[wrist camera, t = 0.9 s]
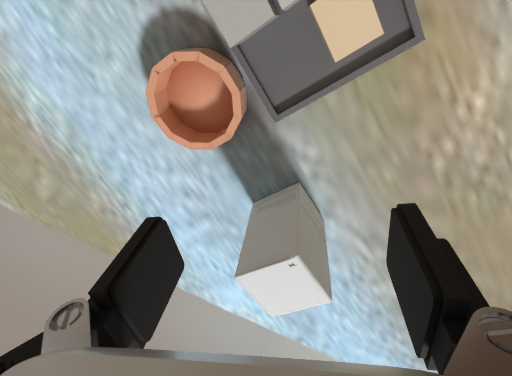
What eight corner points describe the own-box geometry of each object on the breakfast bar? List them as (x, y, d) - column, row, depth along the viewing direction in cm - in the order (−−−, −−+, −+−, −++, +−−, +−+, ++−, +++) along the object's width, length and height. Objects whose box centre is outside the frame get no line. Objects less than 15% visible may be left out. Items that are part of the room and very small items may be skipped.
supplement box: (251, 202, 37) (230, 276, 26) (300, 180, 34) (299, 254, 23) (278, 239, 40) (269, 319, 29) (325, 221, 37) (334, 304, 26)
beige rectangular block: (350, -23, 23) (361, -32, 18) (370, 30, 24) (383, 33, 20) (308, 6, 24) (309, 5, 20) (330, 54, 26) (335, 62, 22)
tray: (366, -138, 19) (369, -147, 18) (420, 38, 24) (425, 39, 23) (206, 0, 25) (202, -1, 24) (276, 119, 30) (275, 122, 29)
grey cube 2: (257, -30, 23) (247, -39, 19) (279, 15, 25) (274, 15, 20) (219, 3, 25) (202, 0, 21) (241, 42, 26) (230, 47, 22)
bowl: (212, 26, 26) (200, 28, 23) (263, 112, 30) (259, 122, 27) (145, 80, 30) (128, 87, 27) (198, 150, 34) (188, 163, 31)
